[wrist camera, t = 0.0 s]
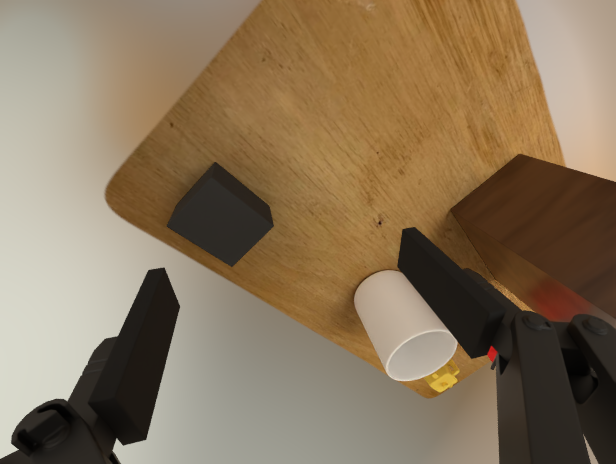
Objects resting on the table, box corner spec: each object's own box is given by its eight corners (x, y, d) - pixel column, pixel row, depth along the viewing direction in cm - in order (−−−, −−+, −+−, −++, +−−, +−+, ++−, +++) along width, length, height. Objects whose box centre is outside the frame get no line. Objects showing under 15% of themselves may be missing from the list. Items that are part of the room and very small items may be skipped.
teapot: (453, 357, 53) (472, 383, 49) (428, 374, 54) (445, 401, 50) (435, 341, 49) (455, 368, 45) (409, 360, 50) (425, 387, 46)
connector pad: (176, 205, 27) (166, 226, 24) (215, 161, 26) (211, 176, 22) (232, 243, 31) (231, 267, 27) (269, 206, 30) (274, 226, 26)
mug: (418, 310, 44) (465, 372, 35) (347, 316, 41) (377, 386, 32) (436, 265, 40) (495, 323, 30) (358, 268, 37) (397, 333, 28)
